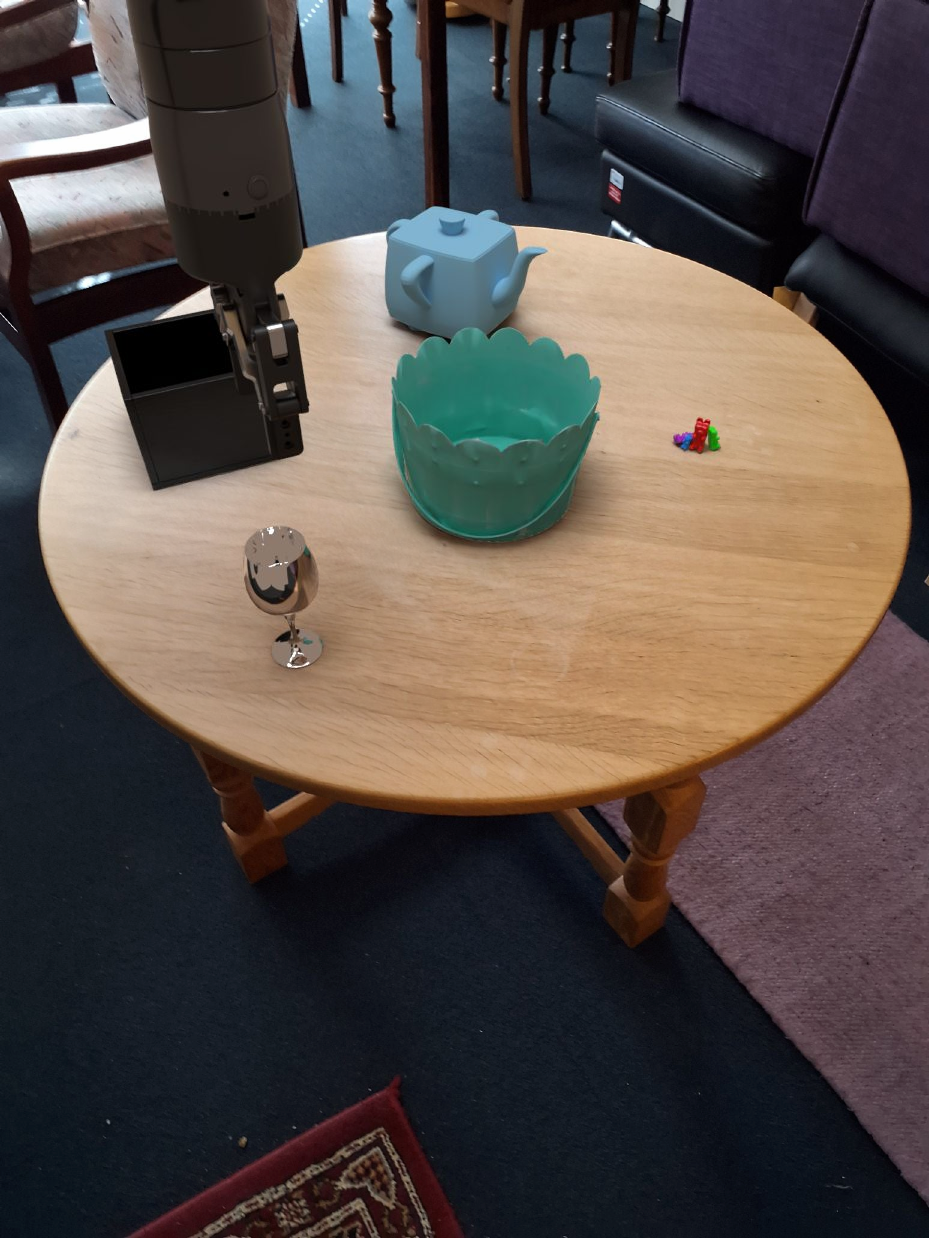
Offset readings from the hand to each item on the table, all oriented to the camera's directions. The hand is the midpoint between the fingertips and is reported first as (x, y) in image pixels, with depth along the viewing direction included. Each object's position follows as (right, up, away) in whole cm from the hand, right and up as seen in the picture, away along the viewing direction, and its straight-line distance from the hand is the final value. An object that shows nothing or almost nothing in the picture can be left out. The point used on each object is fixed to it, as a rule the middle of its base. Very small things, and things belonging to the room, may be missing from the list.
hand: (269, 422), depth 63 cm
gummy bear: (+38, +5, +33) cm, 51 cm away
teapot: (+14, +23, +51) cm, 57 cm away
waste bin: (-14, +6, +35) cm, 38 cm away
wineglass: (-1, -16, +14) cm, 22 cm away
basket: (+16, -1, +29) cm, 33 cm away
